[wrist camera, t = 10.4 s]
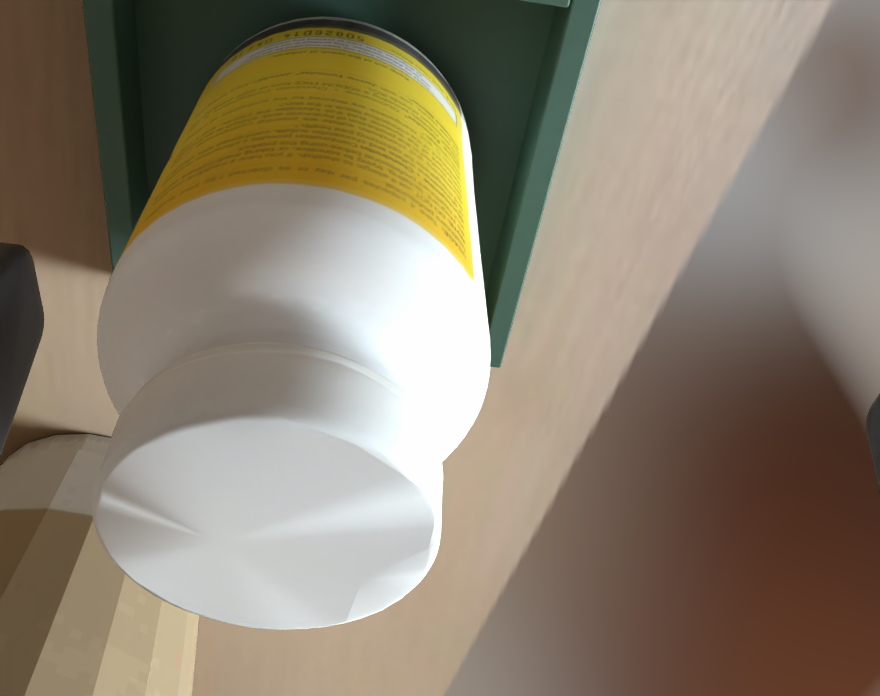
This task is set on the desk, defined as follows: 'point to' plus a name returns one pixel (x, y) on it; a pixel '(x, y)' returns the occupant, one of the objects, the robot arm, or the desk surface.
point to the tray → (395, 10)
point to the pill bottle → (296, 335)
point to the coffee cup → (77, 589)
